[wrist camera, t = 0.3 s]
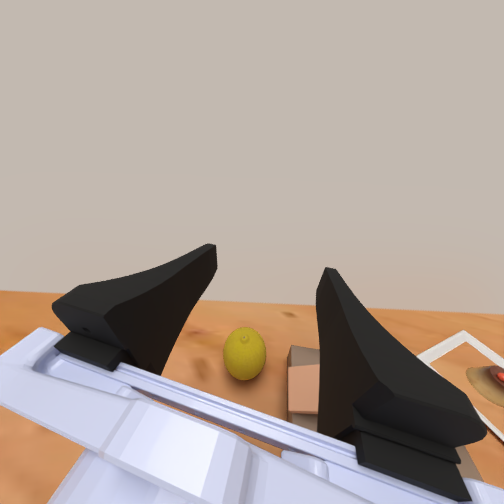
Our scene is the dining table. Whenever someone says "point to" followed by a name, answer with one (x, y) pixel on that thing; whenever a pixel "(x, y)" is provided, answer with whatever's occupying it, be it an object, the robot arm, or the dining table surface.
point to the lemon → (244, 353)
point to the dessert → (475, 371)
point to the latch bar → (303, 389)
